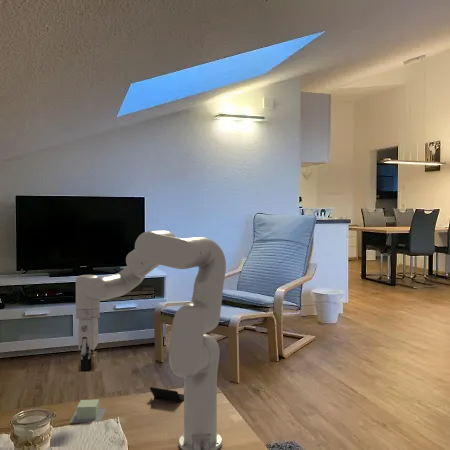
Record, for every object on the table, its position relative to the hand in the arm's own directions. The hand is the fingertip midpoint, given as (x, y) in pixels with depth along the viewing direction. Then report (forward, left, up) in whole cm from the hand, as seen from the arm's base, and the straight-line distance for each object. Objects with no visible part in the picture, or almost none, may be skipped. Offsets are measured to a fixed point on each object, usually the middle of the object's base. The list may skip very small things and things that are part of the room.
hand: (87, 367), depth 152 cm
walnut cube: (0, 0, -1) cm, 1 cm away
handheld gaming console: (+13, -26, -17) cm, 34 cm away
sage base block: (0, 0, -16) cm, 16 cm away
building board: (0, 0, -17) cm, 17 cm away
